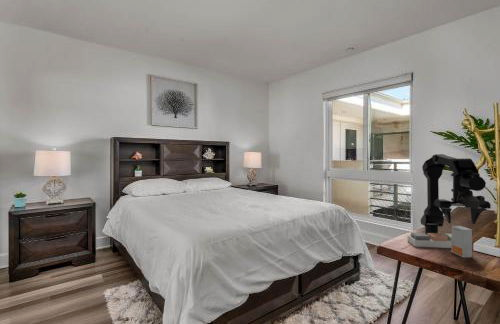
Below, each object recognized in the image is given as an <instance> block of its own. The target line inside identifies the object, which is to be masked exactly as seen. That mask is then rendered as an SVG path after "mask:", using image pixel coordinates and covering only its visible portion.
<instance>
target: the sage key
mask: <svg viewBox="0 0 500 324" xmlns="http://www.w3.org/2000/svg"><path fill="white" fill-rule="evenodd" d="M443 235H445V236H446V237H448V240H449V241H451V238H452V233H443Z"/></svg>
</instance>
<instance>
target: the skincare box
mask: <svg viewBox="0 0 500 324" xmlns="http://www.w3.org/2000/svg"><path fill="white" fill-rule="evenodd" d="M451 234H452V238H451V248H450V249H451V254H455V255H457V256H459V257H461V258H464V259H465V258H473V236H472V235H473V229H471V228H468V227H464V226H462V225H452V226H451Z"/></svg>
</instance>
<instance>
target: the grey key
mask: <svg viewBox="0 0 500 324" xmlns="http://www.w3.org/2000/svg"><path fill="white" fill-rule="evenodd" d="M410 235H411V237H412V238H414V239H415V240H430V236H429V235H427V234H425V232H413V231H412V232H410Z"/></svg>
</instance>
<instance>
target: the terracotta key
mask: <svg viewBox="0 0 500 324" xmlns="http://www.w3.org/2000/svg"><path fill="white" fill-rule="evenodd" d="M427 235H429V236H430V239H431V240H433V241H448V237H446V236H445V235H444V233H443V234H442V233H440V232H438V233H427Z"/></svg>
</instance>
